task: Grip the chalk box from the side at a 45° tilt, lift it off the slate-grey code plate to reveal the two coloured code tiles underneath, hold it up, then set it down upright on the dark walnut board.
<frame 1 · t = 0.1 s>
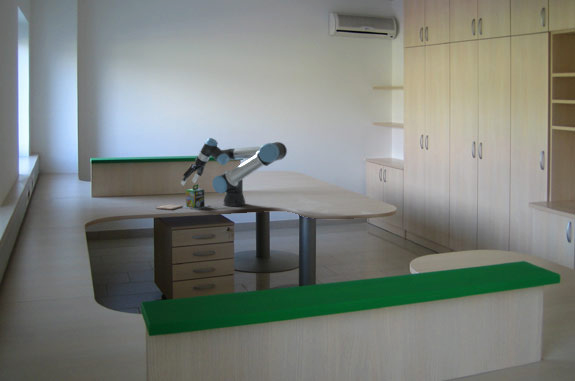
hand: (187, 183, 438), 15 cm above the table, tool tilted 35°, fingers open, 13 cm apart
chalk box: (195, 206, 432), resting on code plate
walnut board: (169, 207, 429), on the table
code plate: (195, 206, 432), on the table
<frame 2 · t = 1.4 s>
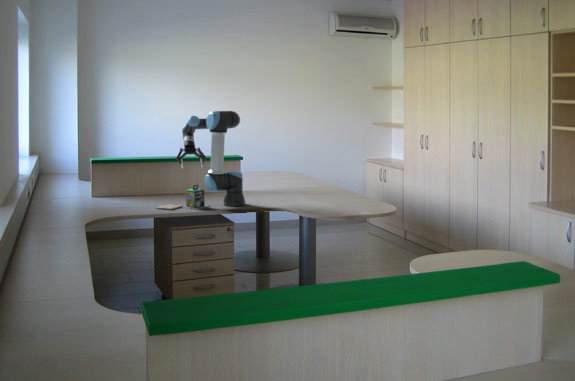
hand: (192, 167, 440), 26 cm above the table, tool tilted 45°, fingers open, 13 cm apart
nothing on the table moved.
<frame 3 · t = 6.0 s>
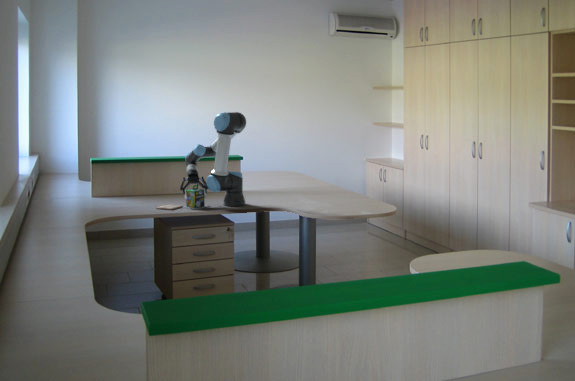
hand: (195, 197, 428), 7 cm above the table, tool tilted 45°, fingers closed on chalk box, 12 cm apart
chalk box: (195, 206, 432), resting on code plate, touching gripper
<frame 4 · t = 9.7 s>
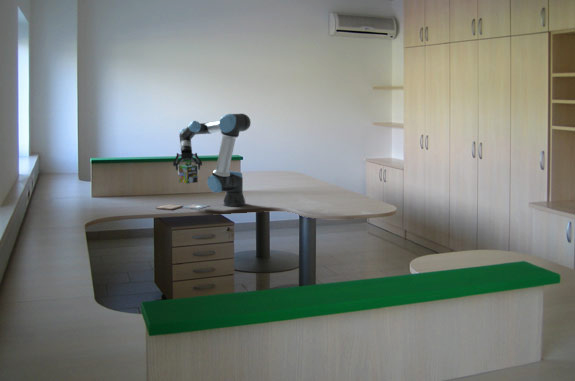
hand: (188, 173, 427), 23 cm above the table, tool tilted 45°, fingers closed on chalk box, 12 cm apart
chalk box: (188, 182, 430), point 17 cm above the table, touching gripper
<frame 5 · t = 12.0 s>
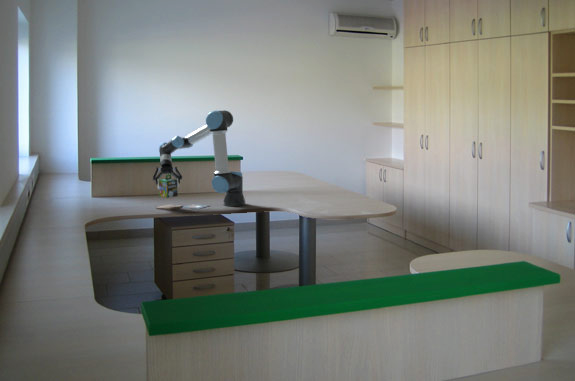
hand: (168, 187, 425), 14 cm above the table, tool tilted 45°, fingers closed on chalk box, 12 cm apart
chalk box: (168, 196, 428), point 8 cm above the table, touching gripper
when the fingers open (9 cm above the table, at t = 13.7 s): chalk box drops 1 cm, resting on walnut board.
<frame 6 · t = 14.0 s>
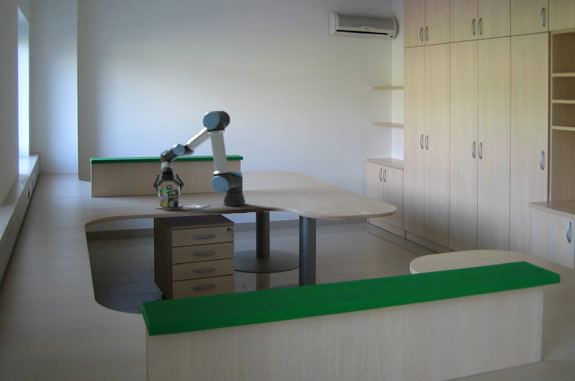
hand: (169, 194, 425), 9 cm above the table, tool tilted 45°, fingers open, 13 cm apart
chalk box: (169, 206, 429), point 1 cm above the table, touching walnut board
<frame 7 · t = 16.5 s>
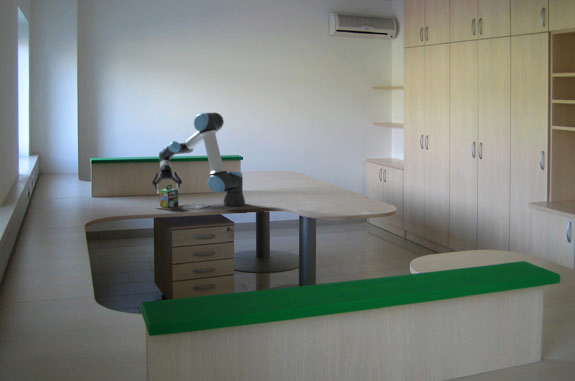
hand: (168, 192, 438), 9 cm above the table, tool tilted 45°, fingers open, 13 cm apart
nothing on the table moved.
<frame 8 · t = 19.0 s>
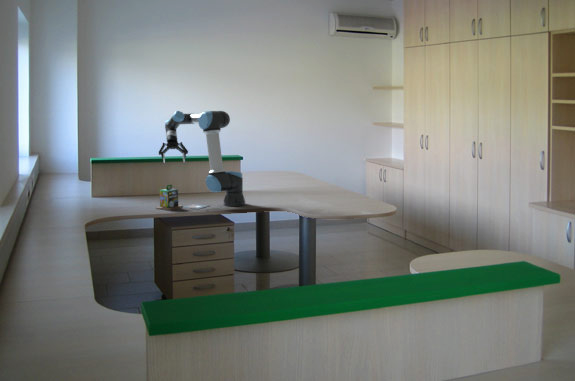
hand: (174, 161, 442), 30 cm above the table, tool tilted 45°, fingers open, 13 cm apart
nothing on the table moved.
at the end: chalk box inside the target area on the walnut board (0.3 cm from its centre), point 0.8 cm above the walnut board's base; chalk box tilted 0°; the gripper is holding nothing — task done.
